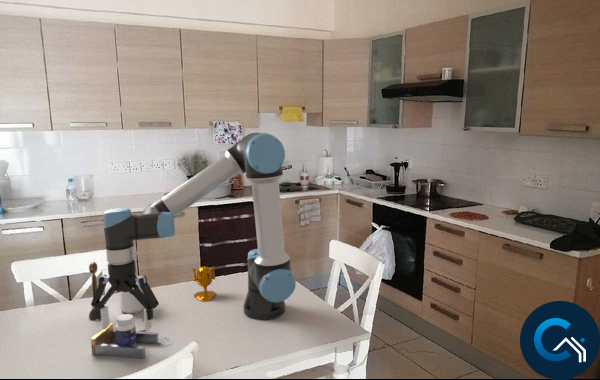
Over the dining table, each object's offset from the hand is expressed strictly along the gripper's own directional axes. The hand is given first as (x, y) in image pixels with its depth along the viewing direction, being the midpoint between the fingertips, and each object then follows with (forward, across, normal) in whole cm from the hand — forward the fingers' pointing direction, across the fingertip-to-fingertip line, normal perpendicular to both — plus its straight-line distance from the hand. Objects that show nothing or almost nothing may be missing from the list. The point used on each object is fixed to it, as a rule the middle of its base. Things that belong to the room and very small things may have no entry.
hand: (127, 328), depth 132 cm
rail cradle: (+6, +1, 0) cm, 6 cm away
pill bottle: (+6, +1, 0) cm, 6 cm away
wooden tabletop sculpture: (+6, +22, -18) cm, 29 cm away
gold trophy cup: (+7, -9, -42) cm, 43 cm away
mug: (+6, +13, -28) cm, 31 cm away
